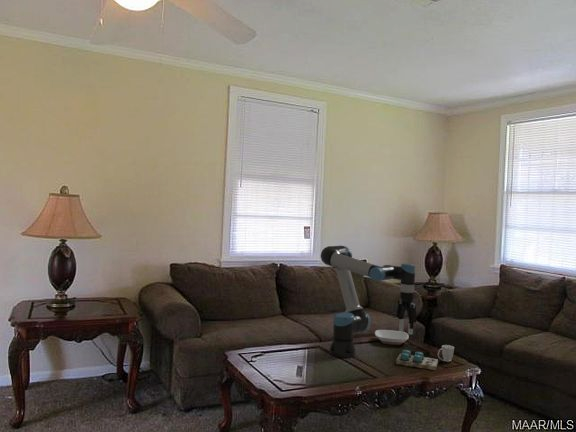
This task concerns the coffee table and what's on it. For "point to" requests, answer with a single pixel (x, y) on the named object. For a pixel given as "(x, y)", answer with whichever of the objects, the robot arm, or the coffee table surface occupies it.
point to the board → (426, 363)
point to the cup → (447, 352)
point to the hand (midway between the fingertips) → (405, 332)
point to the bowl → (391, 337)
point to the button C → (417, 358)
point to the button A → (404, 356)
